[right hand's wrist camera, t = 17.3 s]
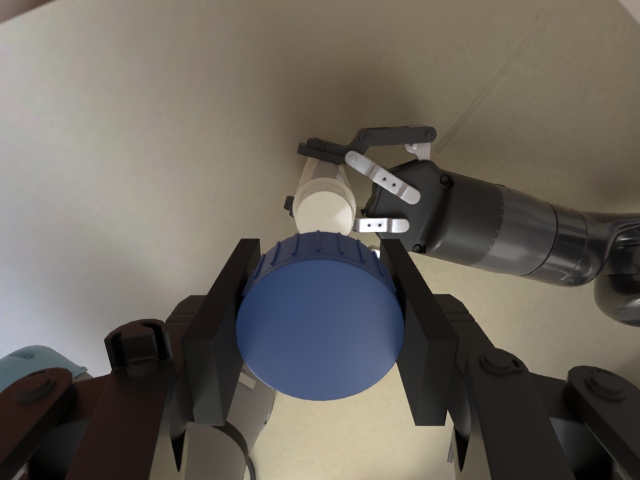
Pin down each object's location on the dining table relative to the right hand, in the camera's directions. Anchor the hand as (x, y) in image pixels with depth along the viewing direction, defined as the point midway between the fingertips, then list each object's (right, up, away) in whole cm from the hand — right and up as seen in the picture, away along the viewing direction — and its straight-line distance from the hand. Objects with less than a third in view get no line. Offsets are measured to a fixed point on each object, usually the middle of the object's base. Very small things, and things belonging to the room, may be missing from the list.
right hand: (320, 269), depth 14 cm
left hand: (-2, +7, +15) cm, 16 cm away
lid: (0, -1, -4) cm, 4 cm away
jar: (0, +8, +21) cm, 22 cm away
